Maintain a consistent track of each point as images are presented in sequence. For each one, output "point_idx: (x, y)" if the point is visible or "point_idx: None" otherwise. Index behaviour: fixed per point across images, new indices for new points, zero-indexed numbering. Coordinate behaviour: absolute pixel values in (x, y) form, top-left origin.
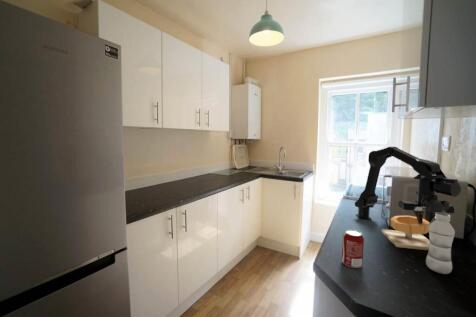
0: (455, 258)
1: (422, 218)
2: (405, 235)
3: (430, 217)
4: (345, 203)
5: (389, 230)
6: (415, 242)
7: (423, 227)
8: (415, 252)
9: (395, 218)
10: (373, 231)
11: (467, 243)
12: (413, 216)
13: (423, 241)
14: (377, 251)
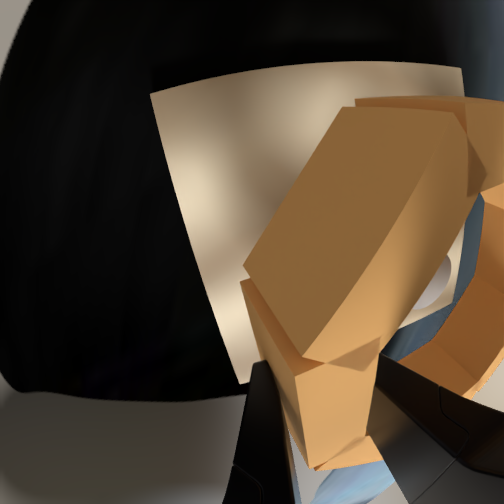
0: (93, 18)
1: (412, 411)
2: None
3: (281, 499)
4: None
5: (421, 310)
6: None
7: (444, 101)
8: (362, 6)
9: None
10: (472, 272)
11: (4, 362)
12: (370, 461)
13: (263, 209)
14: (501, 8)
